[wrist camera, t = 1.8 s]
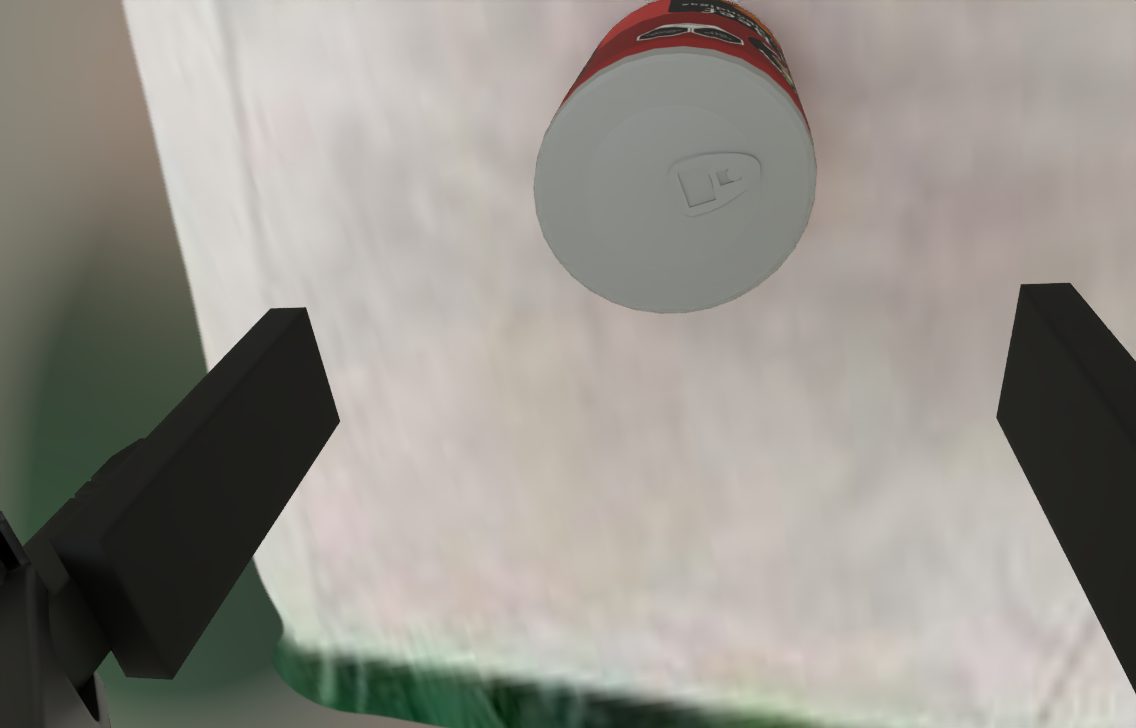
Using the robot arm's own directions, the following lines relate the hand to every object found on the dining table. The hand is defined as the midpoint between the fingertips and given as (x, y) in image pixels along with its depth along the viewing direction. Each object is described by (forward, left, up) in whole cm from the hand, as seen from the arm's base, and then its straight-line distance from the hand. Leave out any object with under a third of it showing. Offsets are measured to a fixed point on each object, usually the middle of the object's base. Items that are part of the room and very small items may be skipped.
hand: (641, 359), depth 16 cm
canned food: (0, 0, -20) cm, 20 cm away
